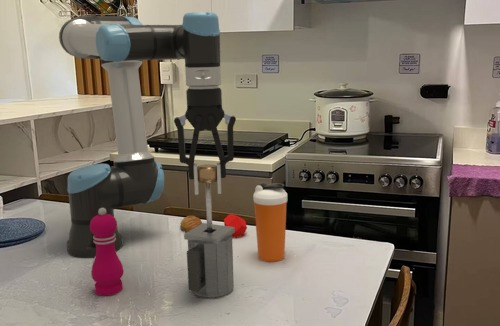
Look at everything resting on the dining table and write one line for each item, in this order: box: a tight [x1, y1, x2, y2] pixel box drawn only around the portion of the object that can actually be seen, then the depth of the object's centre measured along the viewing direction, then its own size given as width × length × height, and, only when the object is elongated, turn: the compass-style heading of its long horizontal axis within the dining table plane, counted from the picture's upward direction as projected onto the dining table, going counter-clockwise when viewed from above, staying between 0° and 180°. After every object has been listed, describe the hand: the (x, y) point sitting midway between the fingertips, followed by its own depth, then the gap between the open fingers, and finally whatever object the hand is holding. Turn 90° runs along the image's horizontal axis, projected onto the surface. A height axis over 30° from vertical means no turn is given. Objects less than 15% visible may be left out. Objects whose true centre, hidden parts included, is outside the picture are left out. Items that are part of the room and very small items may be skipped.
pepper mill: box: [90, 208, 124, 297], centre depth 121 cm, size 7×7×20 cm
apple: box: [223, 213, 248, 238], centre depth 158 cm, size 7×7×8 cm
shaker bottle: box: [252, 181, 288, 263], centre depth 138 cm, size 9×9×20 cm
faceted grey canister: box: [183, 222, 235, 300], centre depth 119 cm, size 10×13×14 cm
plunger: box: [197, 163, 217, 233], centre depth 118 cm, size 7×7×20 cm
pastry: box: [179, 215, 203, 233], centre depth 162 cm, size 9×7×4 cm
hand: (208, 192), depth 117 cm, fingers closed on plunger, 4 cm apart
